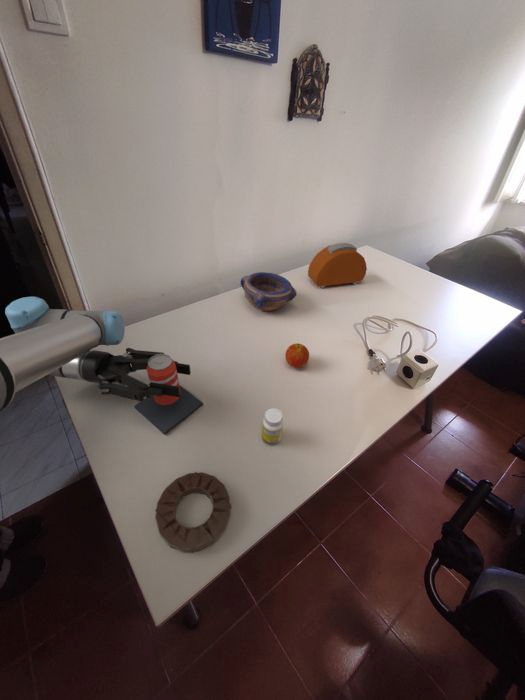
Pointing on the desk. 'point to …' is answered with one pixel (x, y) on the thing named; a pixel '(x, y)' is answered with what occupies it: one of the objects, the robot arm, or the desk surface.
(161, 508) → the socket
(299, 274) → the desk surface
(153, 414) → the mat
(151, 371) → the beverage can
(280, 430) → the supplement bottle
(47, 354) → the robot arm
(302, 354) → the fruit
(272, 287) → the bowl
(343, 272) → the orange toaster
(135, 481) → the desk surface
